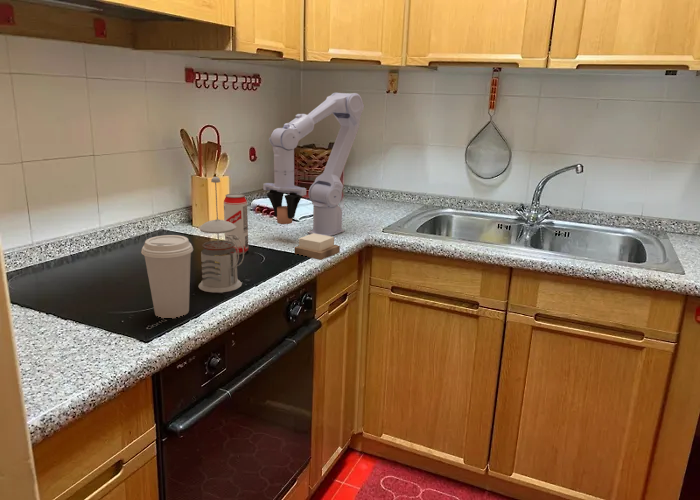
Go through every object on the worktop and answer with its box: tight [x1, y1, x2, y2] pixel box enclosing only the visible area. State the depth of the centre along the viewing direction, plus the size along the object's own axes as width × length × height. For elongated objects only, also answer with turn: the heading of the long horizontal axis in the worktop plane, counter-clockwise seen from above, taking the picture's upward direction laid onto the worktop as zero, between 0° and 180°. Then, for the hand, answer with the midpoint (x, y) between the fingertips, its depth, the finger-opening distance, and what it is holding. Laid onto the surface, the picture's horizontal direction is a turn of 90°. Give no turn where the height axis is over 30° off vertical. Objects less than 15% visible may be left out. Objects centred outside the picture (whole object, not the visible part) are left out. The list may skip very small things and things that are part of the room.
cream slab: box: [298, 233, 335, 251], centre depth 149 cm, size 7×7×2 cm
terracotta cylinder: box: [276, 205, 293, 225], centre depth 158 cm, size 4×4×4 cm
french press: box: [198, 176, 245, 293], centre depth 119 cm, size 10×12×25 cm
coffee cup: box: [140, 234, 194, 319], centre depth 105 cm, size 10×10×15 cm
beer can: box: [223, 192, 249, 256], centre depth 146 cm, size 6×6×16 cm
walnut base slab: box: [294, 244, 341, 261], centre depth 149 cm, size 9×9×2 cm
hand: (284, 216), depth 158 cm, fingers closed on terracotta cylinder, 4 cm apart
